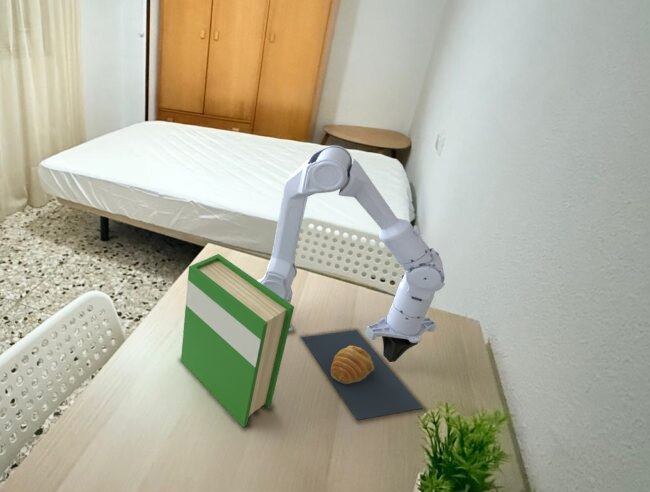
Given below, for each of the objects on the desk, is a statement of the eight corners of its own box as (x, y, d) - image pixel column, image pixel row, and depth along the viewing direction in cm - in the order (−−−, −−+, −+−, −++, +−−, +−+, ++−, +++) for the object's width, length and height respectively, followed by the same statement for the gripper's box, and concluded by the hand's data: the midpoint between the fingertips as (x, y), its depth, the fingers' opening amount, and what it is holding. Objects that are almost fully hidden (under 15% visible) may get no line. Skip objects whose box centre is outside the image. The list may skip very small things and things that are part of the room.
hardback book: (270, 405, 75) (294, 306, 65) (243, 427, 71) (263, 325, 61) (207, 345, 88) (218, 253, 77) (180, 360, 84) (188, 266, 73)
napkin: (301, 337, 91) (301, 337, 91) (356, 330, 93) (356, 329, 93) (357, 420, 73) (357, 419, 73) (422, 408, 76) (422, 407, 76)
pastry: (352, 395, 78) (356, 381, 76) (320, 371, 82) (324, 358, 81) (374, 370, 83) (379, 357, 81) (344, 350, 88) (348, 337, 86)
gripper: (391, 327, 73) (371, 379, 79) (457, 318, 76) (433, 369, 82) (366, 301, 79) (349, 351, 85) (428, 293, 82) (407, 342, 88)
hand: (389, 358), depth 84 cm, fingers closed
